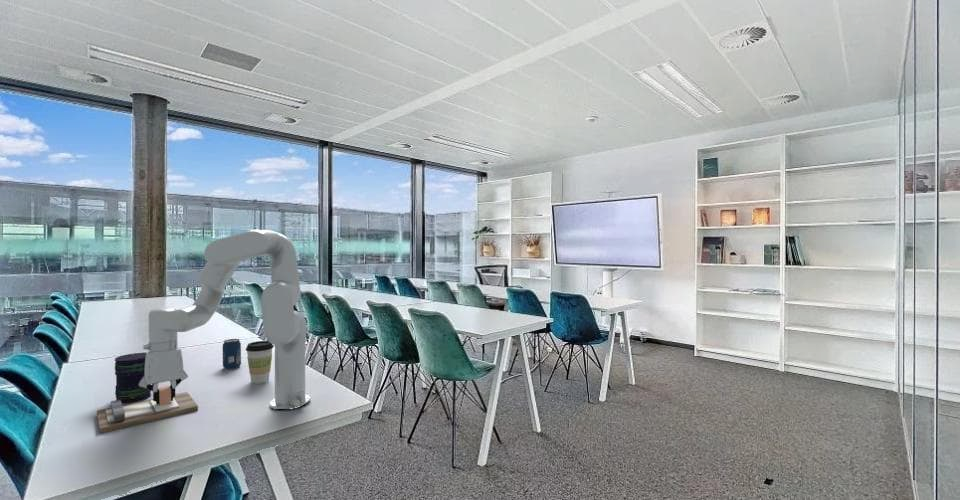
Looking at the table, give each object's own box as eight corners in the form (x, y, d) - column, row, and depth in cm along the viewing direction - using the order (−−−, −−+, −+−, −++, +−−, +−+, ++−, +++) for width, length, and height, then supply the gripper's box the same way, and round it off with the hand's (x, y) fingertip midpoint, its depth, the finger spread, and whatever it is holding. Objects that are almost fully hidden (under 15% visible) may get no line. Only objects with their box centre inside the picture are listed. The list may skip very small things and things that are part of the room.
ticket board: (198, 410, 140) (197, 398, 139) (99, 433, 123) (99, 420, 123) (187, 395, 152) (186, 385, 152) (96, 415, 136) (96, 402, 136)
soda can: (223, 366, 188) (223, 339, 188) (241, 364, 191) (241, 337, 191) (221, 370, 182) (221, 342, 182) (240, 368, 185) (240, 341, 185)
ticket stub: (178, 407, 138) (178, 390, 138) (155, 412, 134) (155, 395, 134) (172, 397, 147) (172, 381, 147) (150, 401, 143) (150, 385, 143)
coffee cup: (253, 387, 162) (252, 347, 161) (241, 381, 168) (240, 344, 167) (278, 380, 169) (278, 342, 169) (266, 375, 175) (266, 339, 175)
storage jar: (156, 396, 152) (155, 355, 151) (122, 406, 143) (121, 361, 143) (143, 391, 157) (143, 351, 156) (110, 400, 148) (109, 357, 148)
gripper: (132, 352, 132) (133, 411, 132) (195, 343, 143) (196, 398, 144) (130, 348, 137) (131, 404, 138) (190, 340, 149) (191, 392, 149)
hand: (164, 400), depth 141 cm, fingers closed on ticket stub, 3 cm apart
